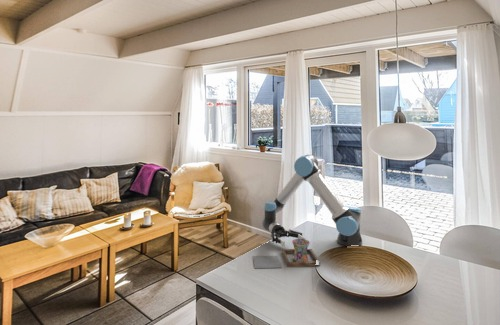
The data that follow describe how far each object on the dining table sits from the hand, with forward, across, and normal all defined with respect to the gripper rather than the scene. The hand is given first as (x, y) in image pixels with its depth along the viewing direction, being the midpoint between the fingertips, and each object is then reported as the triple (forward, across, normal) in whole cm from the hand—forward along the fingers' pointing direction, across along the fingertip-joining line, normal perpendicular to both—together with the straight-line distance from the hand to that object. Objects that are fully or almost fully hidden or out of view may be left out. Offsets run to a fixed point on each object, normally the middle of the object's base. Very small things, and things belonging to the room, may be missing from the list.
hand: (294, 242), depth 166 cm
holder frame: (+5, 0, -8) cm, 9 cm away
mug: (+5, 0, -8) cm, 10 cm away
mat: (+2, +18, -8) cm, 20 cm away
